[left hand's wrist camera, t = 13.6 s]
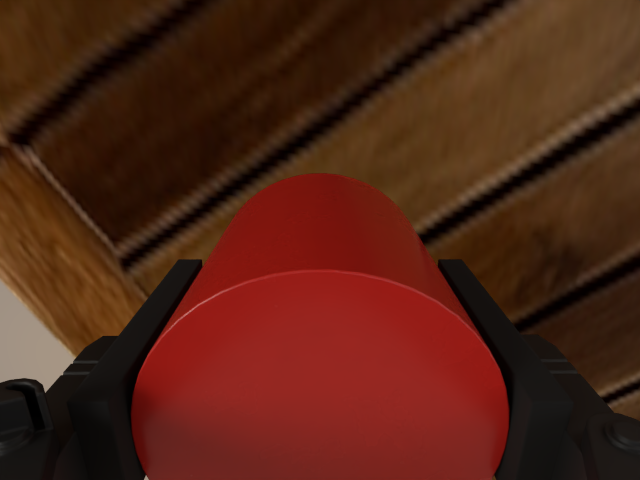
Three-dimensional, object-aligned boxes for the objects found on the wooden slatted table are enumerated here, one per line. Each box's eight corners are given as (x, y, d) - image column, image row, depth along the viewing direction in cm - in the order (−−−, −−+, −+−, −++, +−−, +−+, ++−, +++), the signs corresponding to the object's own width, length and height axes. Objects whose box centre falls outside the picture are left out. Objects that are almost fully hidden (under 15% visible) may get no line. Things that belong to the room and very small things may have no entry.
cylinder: (281, 382, 18) (253, 600, 10) (180, 231, 16) (48, 373, 8) (450, 310, 17) (557, 499, 9) (369, 133, 14) (423, 194, 7)
